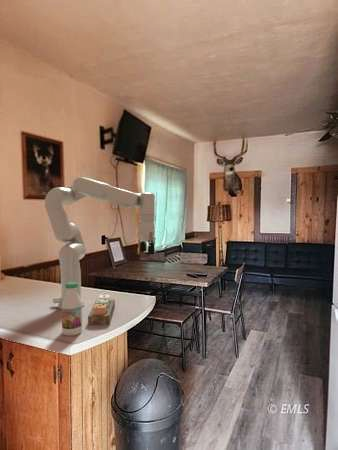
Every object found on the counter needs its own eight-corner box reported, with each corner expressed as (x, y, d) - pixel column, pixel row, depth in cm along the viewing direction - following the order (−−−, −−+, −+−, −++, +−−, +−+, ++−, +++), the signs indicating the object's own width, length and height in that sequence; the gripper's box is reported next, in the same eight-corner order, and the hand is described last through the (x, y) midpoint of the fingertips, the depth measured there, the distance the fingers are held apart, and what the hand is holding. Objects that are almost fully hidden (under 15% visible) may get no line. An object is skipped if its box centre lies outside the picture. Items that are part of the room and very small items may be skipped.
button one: (98, 308, 149) (98, 297, 149) (100, 304, 154) (99, 294, 154) (109, 307, 149) (109, 297, 149) (110, 304, 154) (110, 294, 154)
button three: (93, 319, 134) (93, 307, 134) (95, 315, 139) (95, 303, 139) (105, 319, 134) (105, 307, 134) (106, 315, 139) (106, 303, 139)
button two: (96, 313, 142) (95, 302, 141) (97, 309, 146) (97, 298, 146) (107, 313, 142) (107, 301, 142) (108, 309, 147) (108, 298, 147)
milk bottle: (64, 329, 129) (63, 280, 128) (84, 328, 129) (83, 280, 128) (60, 336, 121) (58, 285, 120) (80, 336, 122) (79, 285, 121)
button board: (88, 325, 132) (87, 316, 132) (96, 307, 156) (96, 299, 155) (109, 325, 133) (109, 315, 133) (114, 307, 156) (114, 299, 156)
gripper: (133, 217, 159) (133, 251, 160) (147, 218, 144) (147, 255, 145) (146, 217, 163) (146, 250, 164) (161, 218, 147) (161, 254, 148)
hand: (147, 252), depth 154 cm, fingers open, 9 cm apart
